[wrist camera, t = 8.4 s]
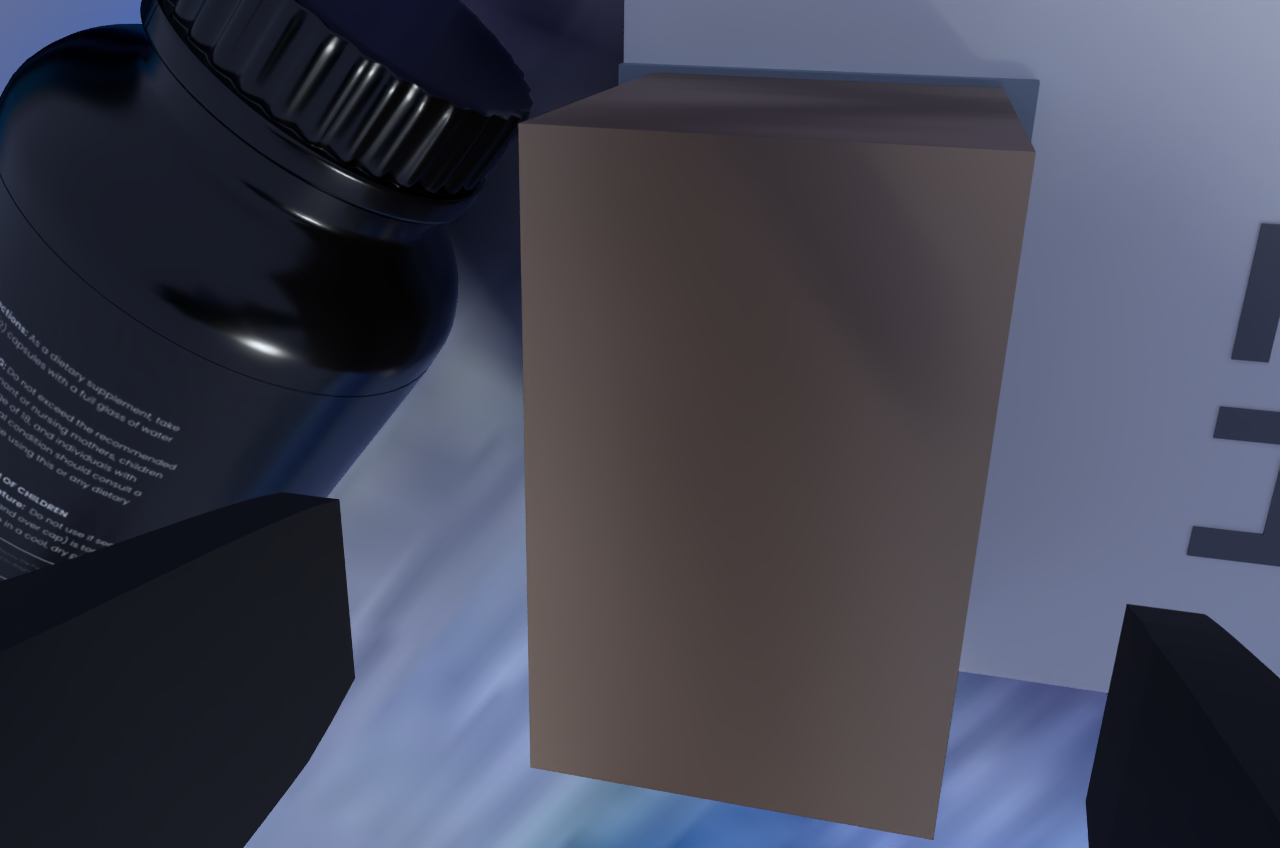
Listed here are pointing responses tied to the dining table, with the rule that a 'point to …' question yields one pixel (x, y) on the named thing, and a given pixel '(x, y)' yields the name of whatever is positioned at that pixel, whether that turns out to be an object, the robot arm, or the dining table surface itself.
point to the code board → (1096, 300)
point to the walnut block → (762, 430)
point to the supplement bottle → (227, 252)
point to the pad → (1017, 90)
